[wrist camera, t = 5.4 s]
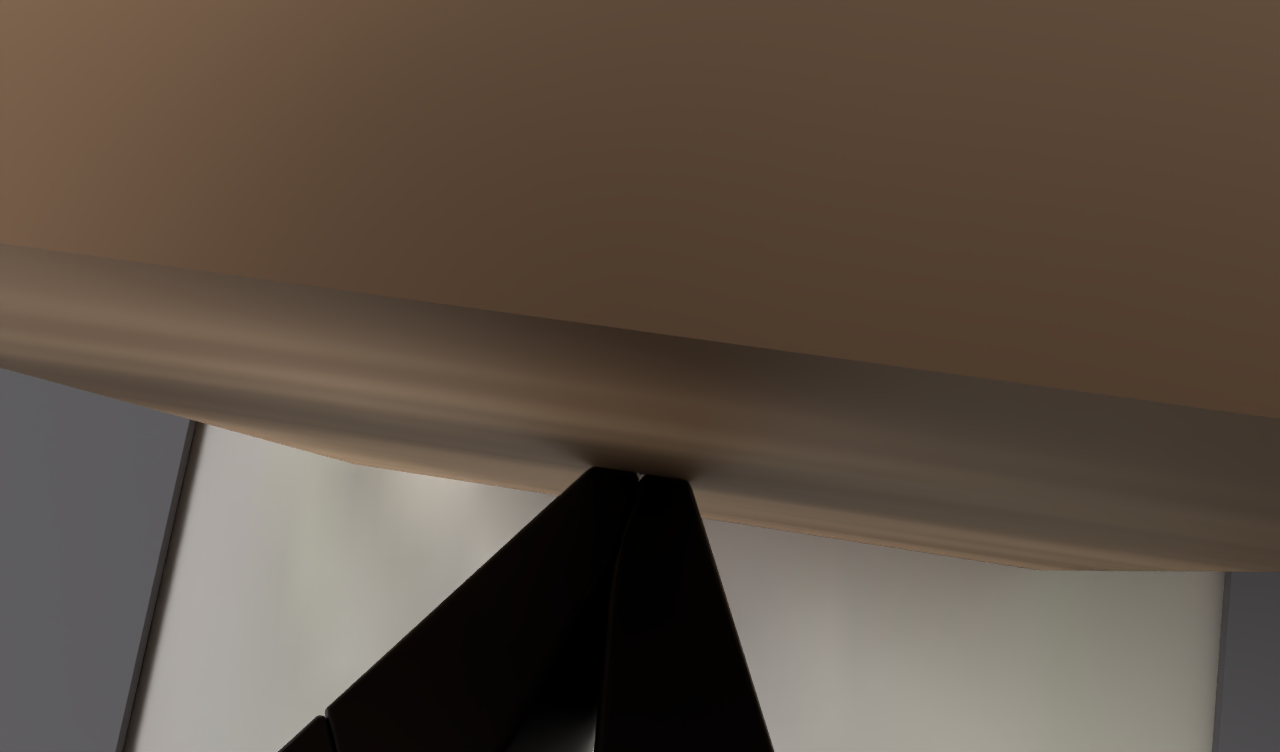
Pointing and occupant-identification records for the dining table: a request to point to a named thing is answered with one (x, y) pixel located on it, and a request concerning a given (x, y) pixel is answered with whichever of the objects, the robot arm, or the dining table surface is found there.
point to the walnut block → (684, 251)
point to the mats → (138, 542)
